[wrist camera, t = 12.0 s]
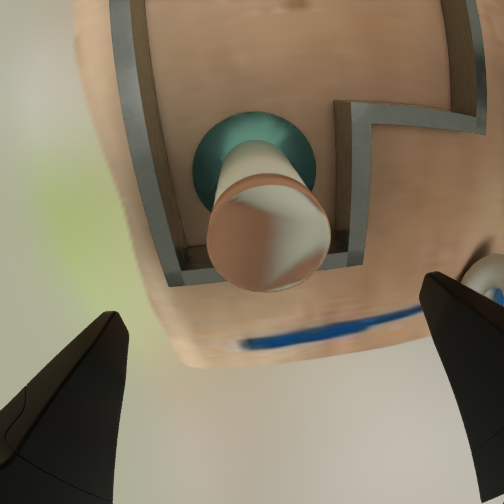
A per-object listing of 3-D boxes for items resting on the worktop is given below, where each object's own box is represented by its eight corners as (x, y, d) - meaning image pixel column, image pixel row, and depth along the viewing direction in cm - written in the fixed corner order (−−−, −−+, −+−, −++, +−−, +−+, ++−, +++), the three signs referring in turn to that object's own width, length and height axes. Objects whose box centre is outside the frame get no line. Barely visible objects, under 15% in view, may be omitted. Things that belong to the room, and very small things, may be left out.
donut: (451, 310, 27) (491, 374, 18) (434, 307, 26) (477, 376, 18) (496, 240, 22) (552, 296, 14) (483, 231, 21) (545, 291, 13)
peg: (287, 135, 17) (331, 177, 9) (292, 201, 19) (328, 284, 11) (215, 143, 17) (195, 192, 9) (225, 208, 19) (218, 298, 11)
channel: (417, -93, 4) (433, -103, 1) (446, 231, 21) (465, 248, 19) (127, -103, 4) (116, -118, 2) (176, 262, 22) (168, 287, 19)
